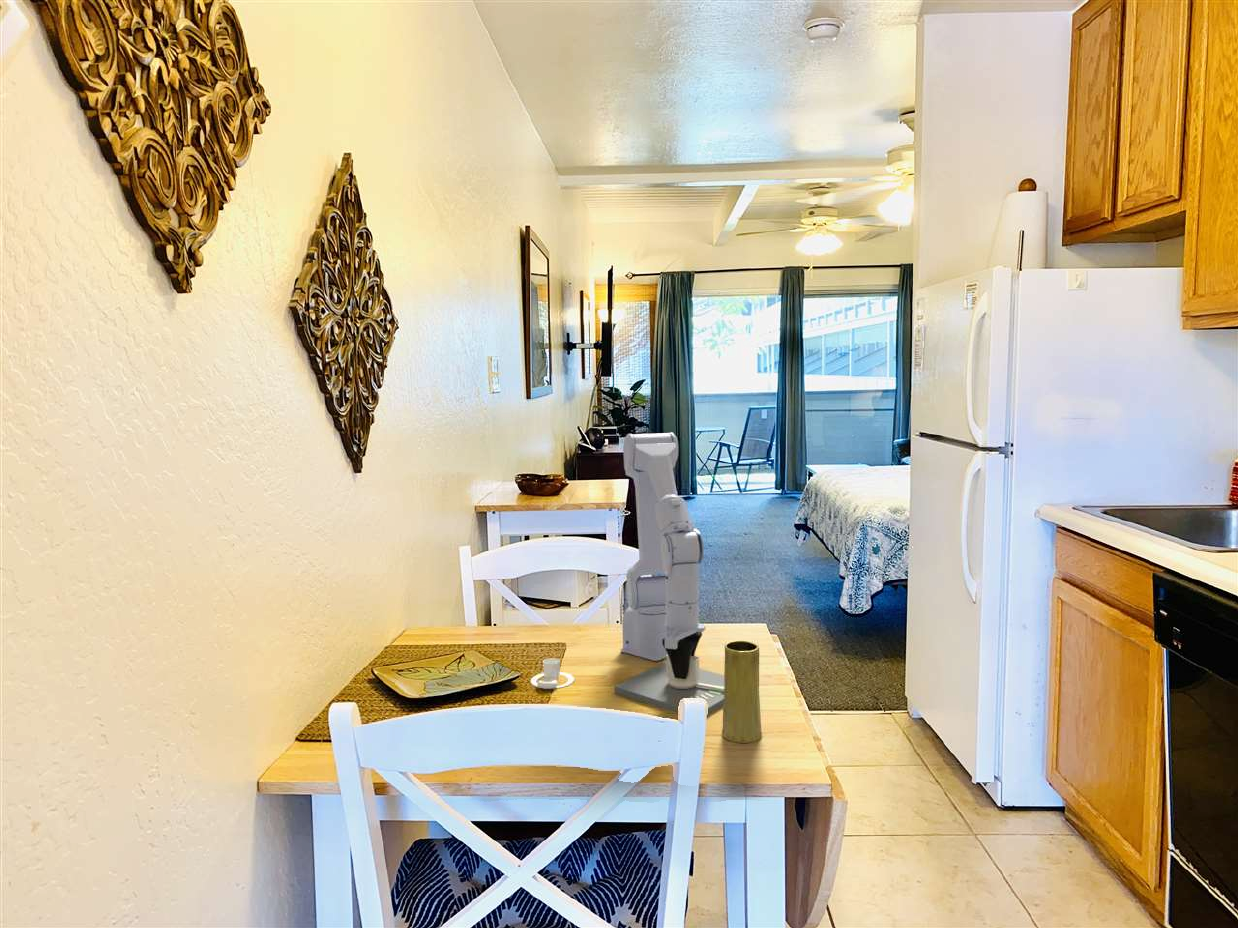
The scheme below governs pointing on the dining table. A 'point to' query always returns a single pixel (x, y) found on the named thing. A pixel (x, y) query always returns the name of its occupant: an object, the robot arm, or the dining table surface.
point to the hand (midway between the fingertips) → (682, 675)
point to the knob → (691, 677)
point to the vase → (741, 692)
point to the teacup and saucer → (551, 675)
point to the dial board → (671, 689)
